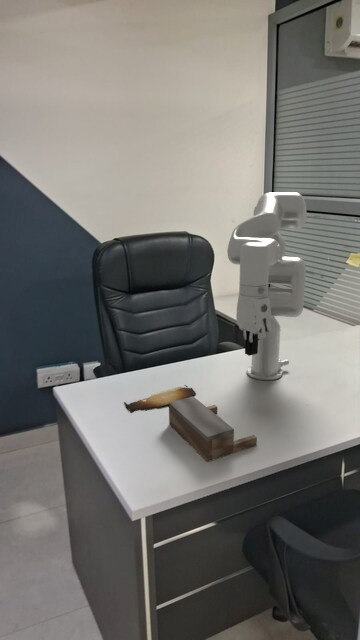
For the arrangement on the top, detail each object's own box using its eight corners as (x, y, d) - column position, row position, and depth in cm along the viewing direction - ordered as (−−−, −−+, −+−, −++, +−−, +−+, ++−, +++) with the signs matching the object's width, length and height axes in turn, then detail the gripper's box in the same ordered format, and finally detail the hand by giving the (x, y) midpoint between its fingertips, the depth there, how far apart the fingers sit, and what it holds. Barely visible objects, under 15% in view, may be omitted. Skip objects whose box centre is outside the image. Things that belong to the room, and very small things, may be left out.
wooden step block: (214, 412, 146) (214, 390, 144) (256, 445, 129) (257, 421, 127) (169, 424, 139) (168, 402, 137) (207, 462, 122) (207, 437, 120)
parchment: (186, 385, 165) (186, 382, 165) (202, 395, 157) (202, 393, 157) (121, 405, 153) (120, 402, 153) (135, 417, 145) (134, 414, 145)
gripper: (283, 294, 123) (279, 360, 129) (248, 282, 136) (246, 343, 141) (259, 298, 120) (256, 366, 125) (226, 285, 132) (224, 347, 138)
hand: (251, 353), depth 133 cm, fingers closed
